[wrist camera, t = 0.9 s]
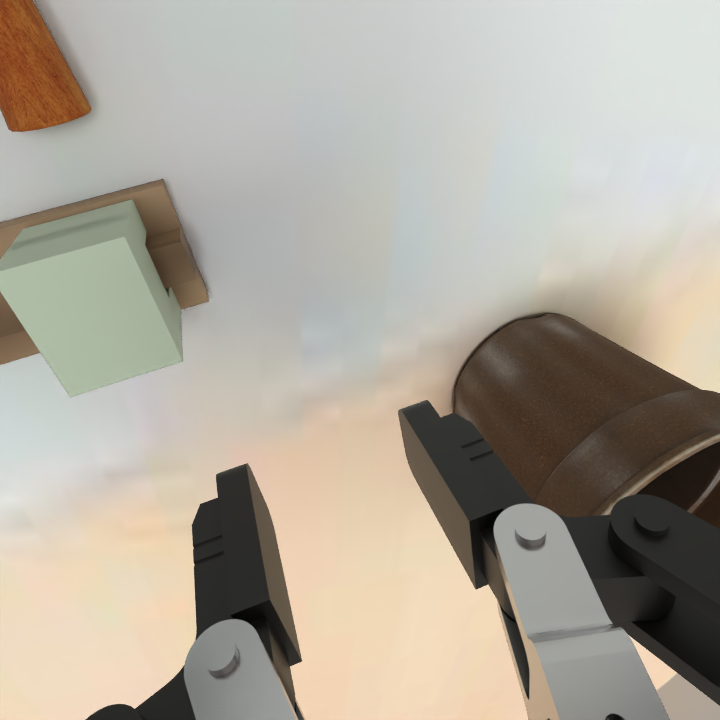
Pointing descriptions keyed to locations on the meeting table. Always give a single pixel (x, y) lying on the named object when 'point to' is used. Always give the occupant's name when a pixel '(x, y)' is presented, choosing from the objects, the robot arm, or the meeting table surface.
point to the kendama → (34, 72)
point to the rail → (163, 241)
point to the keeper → (92, 298)
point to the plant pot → (591, 420)
